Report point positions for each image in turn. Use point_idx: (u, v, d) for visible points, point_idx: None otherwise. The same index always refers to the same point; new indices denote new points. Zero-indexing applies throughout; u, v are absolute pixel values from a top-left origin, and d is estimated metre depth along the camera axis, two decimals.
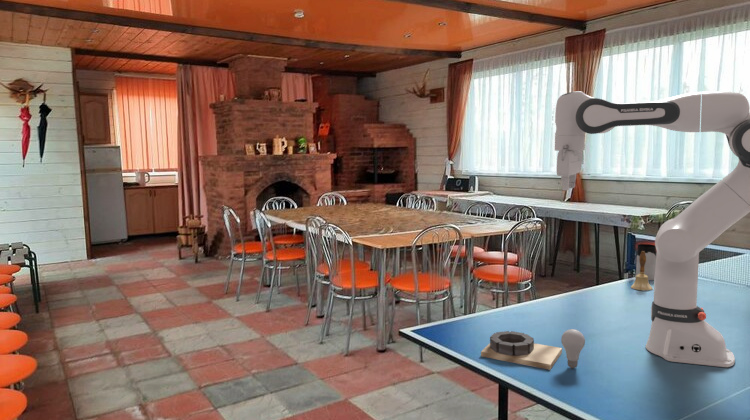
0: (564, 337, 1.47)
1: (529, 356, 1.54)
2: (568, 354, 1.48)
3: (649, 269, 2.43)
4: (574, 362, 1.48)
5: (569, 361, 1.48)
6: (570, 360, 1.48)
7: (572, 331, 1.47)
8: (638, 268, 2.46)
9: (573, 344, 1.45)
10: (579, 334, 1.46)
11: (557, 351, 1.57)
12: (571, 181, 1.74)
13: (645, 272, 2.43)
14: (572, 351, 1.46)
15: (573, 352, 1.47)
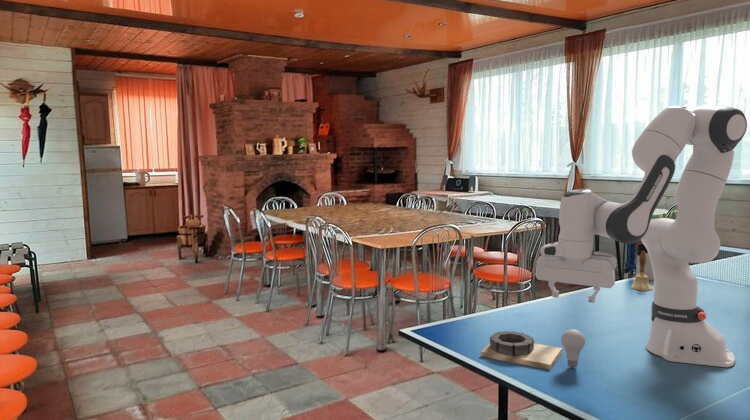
0: (564, 337, 1.47)
1: (529, 356, 1.54)
2: (568, 354, 1.48)
3: (649, 269, 2.43)
4: (574, 362, 1.48)
5: (569, 361, 1.48)
6: (570, 360, 1.48)
7: (572, 331, 1.47)
8: (638, 268, 2.46)
9: (573, 344, 1.45)
10: (579, 334, 1.46)
11: (557, 351, 1.57)
12: (554, 289, 1.49)
13: (645, 272, 2.43)
14: (572, 351, 1.46)
15: (573, 352, 1.47)
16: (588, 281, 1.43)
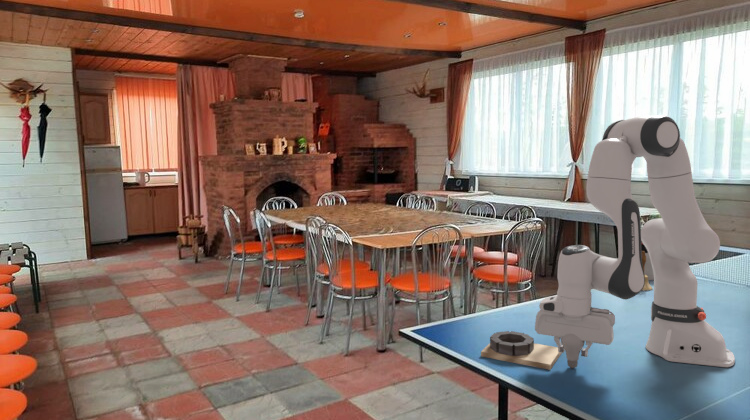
0: (564, 337, 1.47)
1: (529, 356, 1.54)
2: (568, 354, 1.48)
3: (649, 269, 2.43)
4: (574, 362, 1.48)
5: (569, 361, 1.48)
6: (570, 360, 1.48)
7: None
8: None
9: (572, 344, 1.45)
10: None
11: (557, 351, 1.57)
12: (560, 344, 1.50)
13: (645, 272, 2.43)
14: (572, 351, 1.47)
15: (573, 352, 1.47)
16: (586, 337, 1.44)
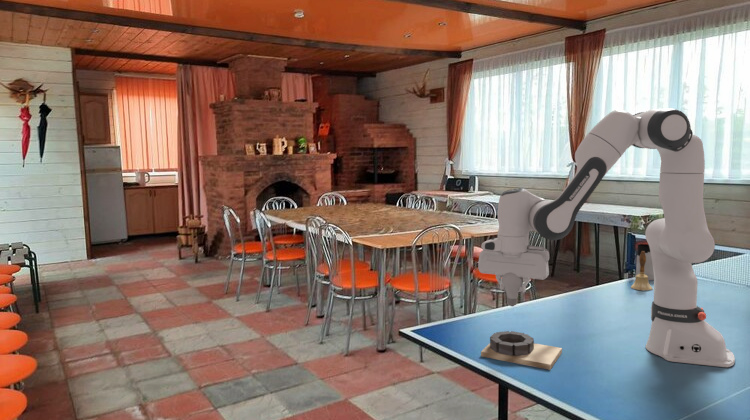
0: (504, 276, 1.57)
1: (529, 356, 1.54)
2: (507, 292, 1.58)
3: (649, 269, 2.43)
4: (513, 300, 1.58)
5: (509, 299, 1.58)
6: (509, 298, 1.58)
7: None
8: (638, 268, 2.46)
9: (511, 282, 1.55)
10: None
11: (557, 351, 1.57)
12: (501, 282, 1.60)
13: (645, 272, 2.43)
14: (511, 289, 1.57)
15: (512, 290, 1.57)
16: (524, 274, 1.55)
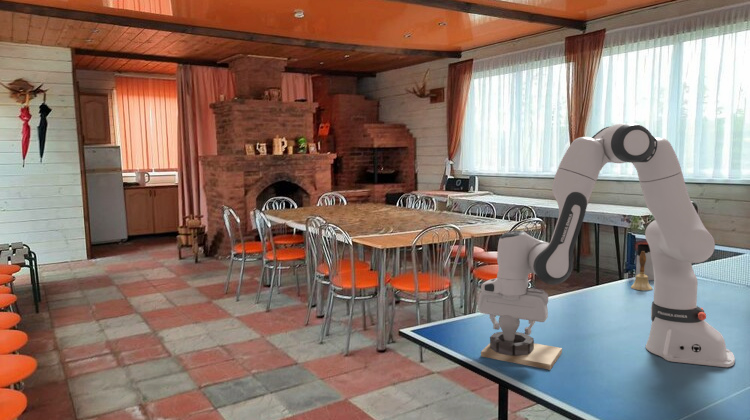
0: (501, 318, 1.59)
1: (529, 356, 1.54)
2: (504, 334, 1.60)
3: (649, 269, 2.43)
4: (510, 342, 1.60)
5: (505, 341, 1.60)
6: (506, 340, 1.60)
7: None
8: (638, 268, 2.46)
9: (508, 324, 1.57)
10: None
11: (557, 351, 1.57)
12: (495, 322, 1.63)
13: (645, 272, 2.43)
14: (507, 331, 1.58)
15: (508, 332, 1.59)
16: (523, 316, 1.56)
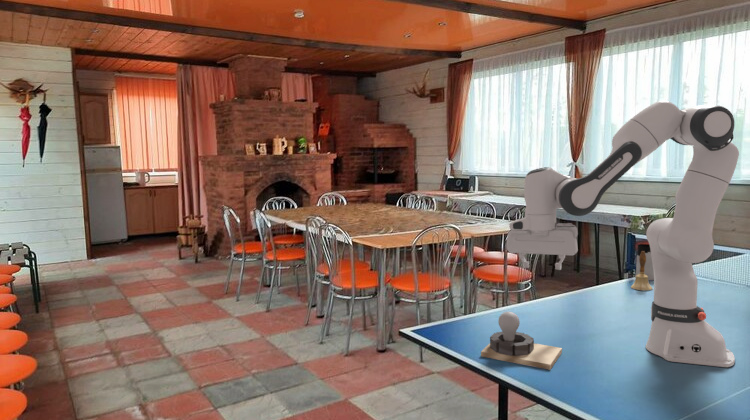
0: (500, 319, 1.59)
1: (529, 356, 1.54)
2: (504, 334, 1.60)
3: (649, 269, 2.43)
4: (510, 342, 1.60)
5: (505, 341, 1.60)
6: (506, 340, 1.60)
7: (507, 313, 1.59)
8: (638, 268, 2.46)
9: (507, 325, 1.57)
10: (514, 316, 1.58)
11: (557, 351, 1.57)
12: (525, 260, 1.64)
13: (645, 272, 2.43)
14: (507, 331, 1.58)
15: (508, 332, 1.58)
16: (553, 251, 1.57)
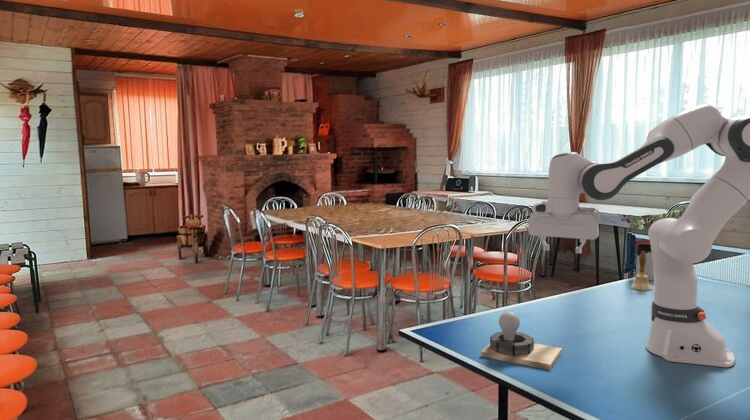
0: (501, 319, 1.59)
1: (529, 356, 1.54)
2: (504, 334, 1.60)
3: (649, 269, 2.43)
4: (510, 342, 1.59)
5: (505, 341, 1.60)
6: (506, 340, 1.60)
7: (508, 313, 1.59)
8: (638, 268, 2.46)
9: (508, 325, 1.57)
10: (514, 316, 1.58)
11: (557, 351, 1.57)
12: (545, 243, 1.66)
13: (645, 272, 2.43)
14: (507, 331, 1.58)
15: (508, 332, 1.58)
16: (574, 234, 1.60)
